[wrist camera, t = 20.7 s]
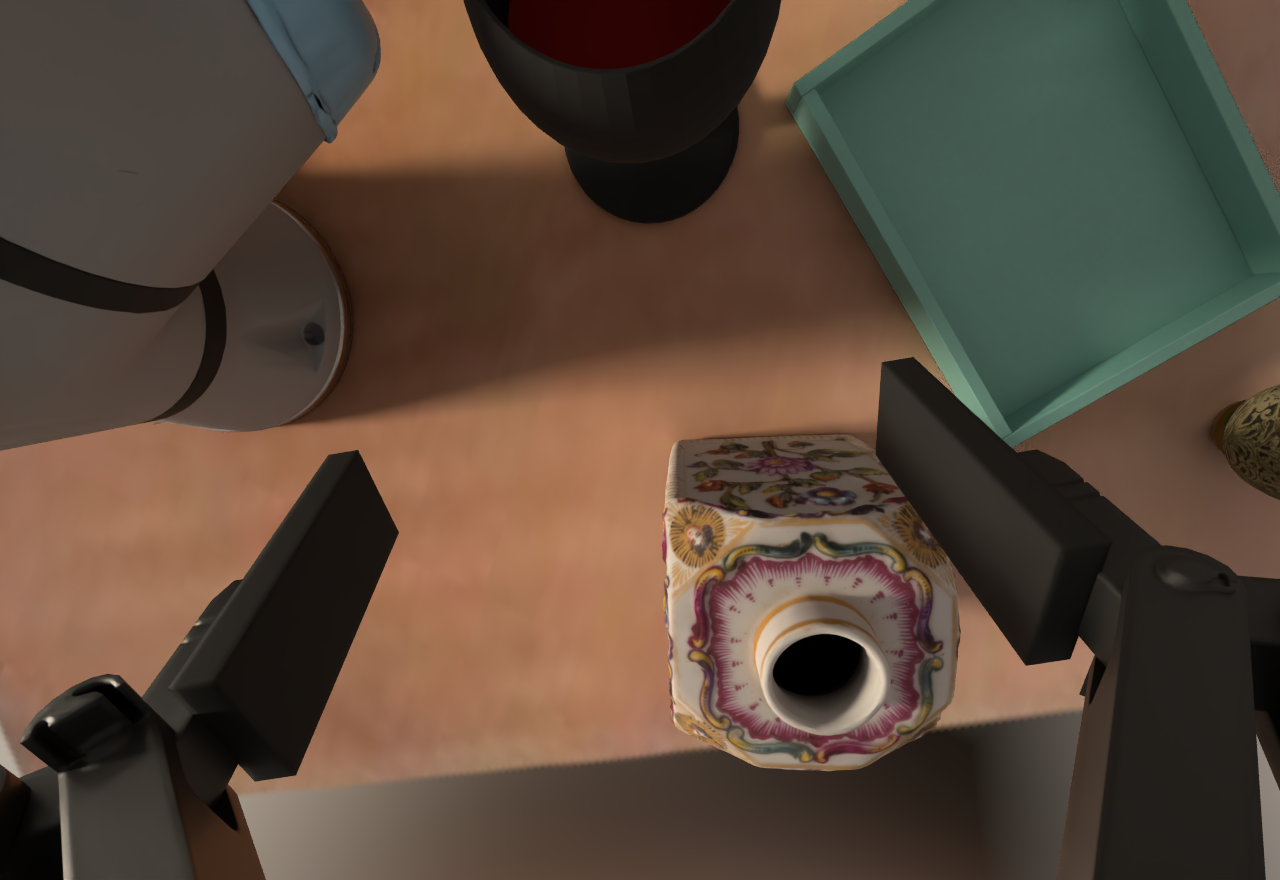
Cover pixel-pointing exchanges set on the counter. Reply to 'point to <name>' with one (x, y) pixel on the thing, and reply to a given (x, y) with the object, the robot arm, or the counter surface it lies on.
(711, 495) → the decorative jar
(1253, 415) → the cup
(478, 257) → the counter surface
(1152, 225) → the tray
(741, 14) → the wine glass
